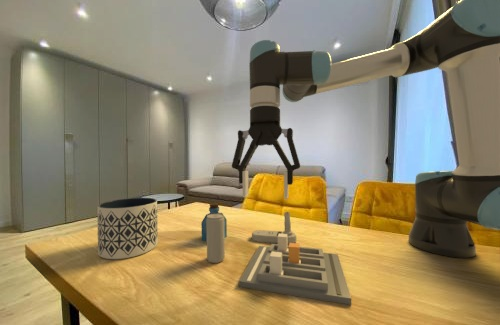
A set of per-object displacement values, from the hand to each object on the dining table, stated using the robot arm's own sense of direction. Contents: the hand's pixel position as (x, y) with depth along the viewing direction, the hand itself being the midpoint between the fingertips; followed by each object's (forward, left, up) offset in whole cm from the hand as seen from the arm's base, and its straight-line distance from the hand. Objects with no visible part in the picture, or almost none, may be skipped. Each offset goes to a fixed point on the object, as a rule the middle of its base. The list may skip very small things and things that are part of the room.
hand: (265, 197), depth 53 cm
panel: (-7, 0, -18) cm, 19 cm away
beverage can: (+14, 0, -18) cm, 23 cm away
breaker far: (-4, -6, -16) cm, 18 cm away
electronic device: (+1, -18, -18) cm, 26 cm away
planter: (+43, 0, -18) cm, 47 cm away
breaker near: (-3, +6, -16) cm, 18 cm away
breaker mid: (-7, 0, -16) cm, 18 cm away
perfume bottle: (+21, -14, -18) cm, 31 cm away
